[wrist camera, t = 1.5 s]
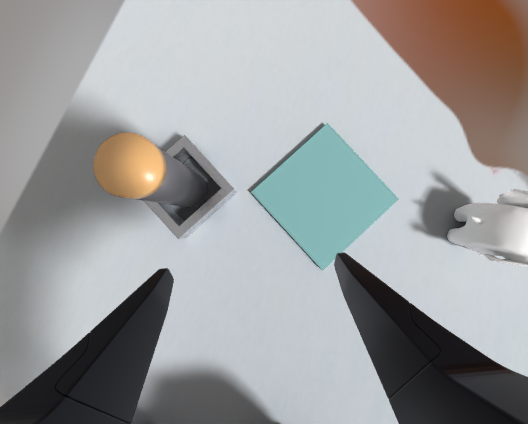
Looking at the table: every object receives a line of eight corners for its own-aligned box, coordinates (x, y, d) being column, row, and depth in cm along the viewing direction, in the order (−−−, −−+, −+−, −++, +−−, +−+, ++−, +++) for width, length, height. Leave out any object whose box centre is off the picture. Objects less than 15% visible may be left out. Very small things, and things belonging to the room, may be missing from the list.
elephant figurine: (497, 272, 23) (599, 296, 16) (426, 245, 24) (497, 257, 16) (516, 216, 24) (625, 215, 17) (445, 189, 24) (523, 176, 17)
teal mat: (321, 269, 23) (322, 270, 23) (251, 192, 24) (251, 192, 23) (395, 199, 24) (398, 198, 23) (326, 125, 24) (327, 122, 23)
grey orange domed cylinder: (188, 214, 23) (123, 210, 12) (165, 188, 23) (80, 162, 12) (214, 191, 24) (172, 167, 13) (191, 165, 24) (129, 119, 13)
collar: (187, 237, 23) (178, 239, 21) (143, 187, 23) (128, 184, 21) (236, 192, 24) (233, 188, 21) (192, 143, 24) (184, 134, 21)
